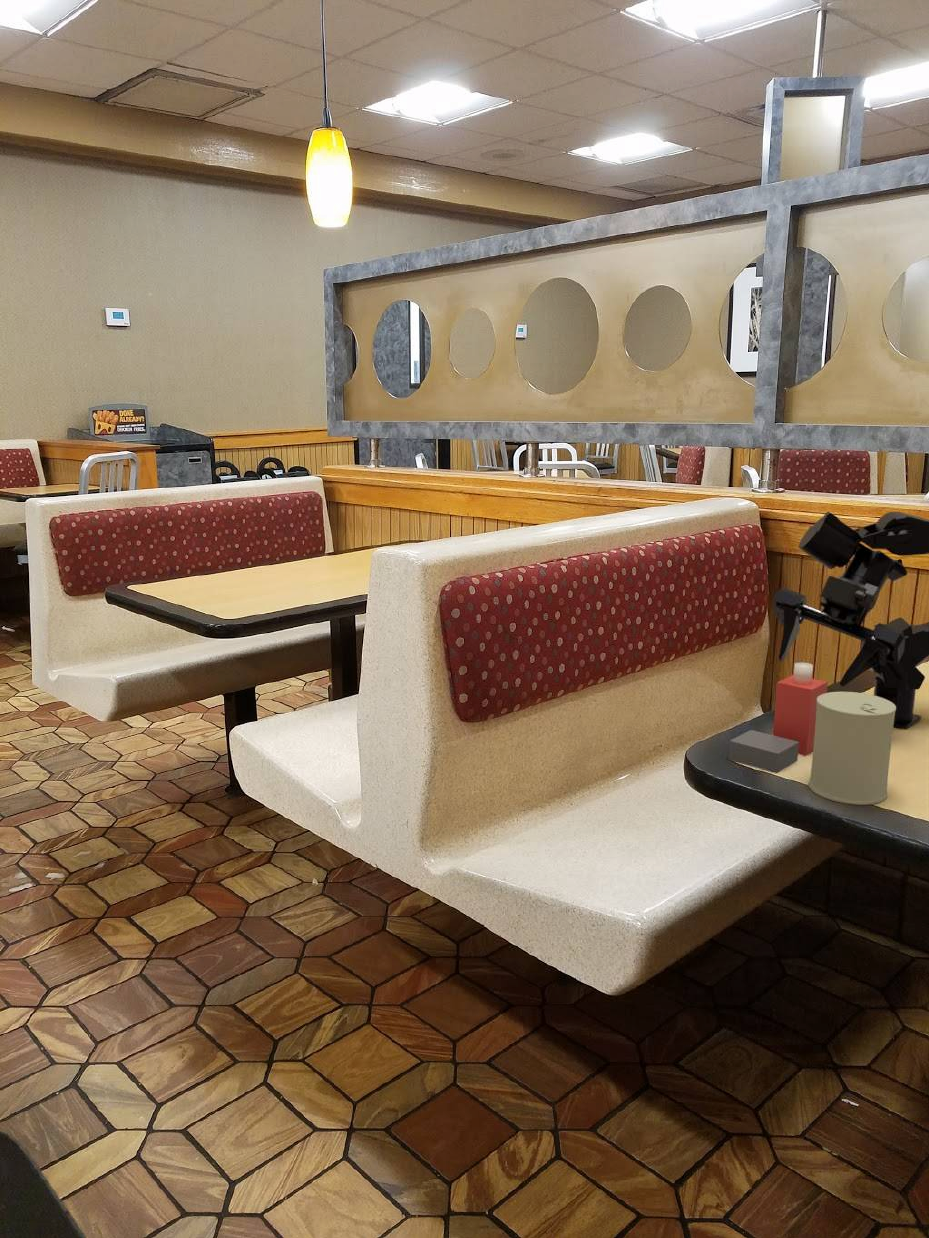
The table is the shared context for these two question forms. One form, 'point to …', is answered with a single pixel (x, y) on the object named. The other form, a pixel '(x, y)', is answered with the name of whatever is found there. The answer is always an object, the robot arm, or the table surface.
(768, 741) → the grey box
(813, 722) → the ketchup bottle
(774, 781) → the table surface
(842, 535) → the robot arm
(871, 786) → the can
